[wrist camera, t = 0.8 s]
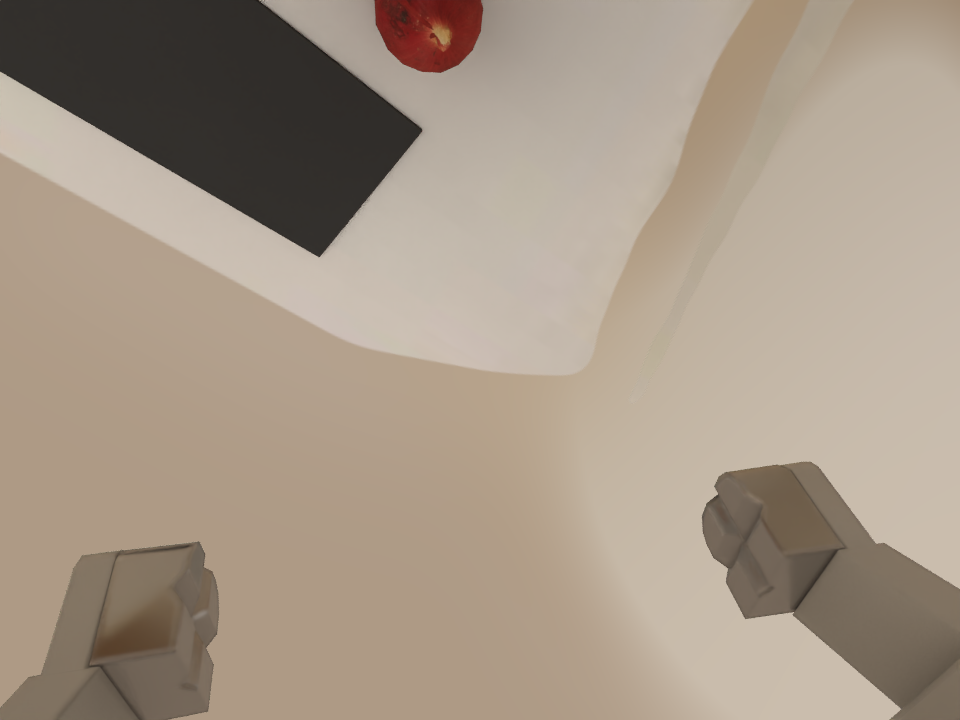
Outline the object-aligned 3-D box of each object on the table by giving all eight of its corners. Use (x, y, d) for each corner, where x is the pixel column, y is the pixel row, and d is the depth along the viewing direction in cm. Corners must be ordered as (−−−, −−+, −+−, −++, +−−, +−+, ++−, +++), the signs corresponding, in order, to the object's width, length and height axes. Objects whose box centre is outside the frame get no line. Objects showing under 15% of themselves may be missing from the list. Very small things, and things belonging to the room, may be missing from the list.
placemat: (-24, 55, 36) (-26, 56, 36) (67, -150, 32) (66, -149, 31) (319, 255, 48) (319, 257, 48) (421, 129, 44) (422, 131, 44)
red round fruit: (356, 23, 39) (364, 67, 33) (393, -82, 36) (409, -54, 30) (444, 65, 41) (466, 113, 35) (486, -30, 38) (517, 5, 32)
